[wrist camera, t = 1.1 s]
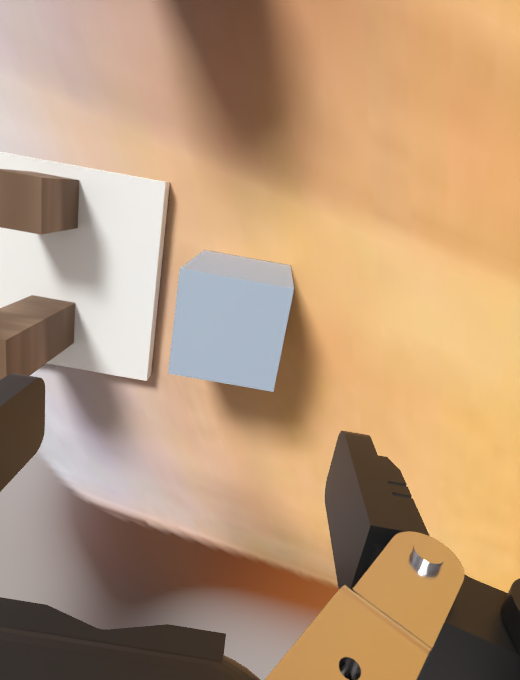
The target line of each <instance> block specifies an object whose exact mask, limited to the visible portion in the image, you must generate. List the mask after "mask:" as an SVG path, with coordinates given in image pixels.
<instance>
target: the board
mask: <svg viewBox="0 0 520 680" xmlns="http://www.w3.org/2000/svg"><path fill="white" fill-rule="evenodd" d="M0 169H9V170H21V171H32V172H38V173H43V174H49V175H54V176H60V177H65V178H71V179H76V180H79V206H78V228H76V229H70V230H65V231H59V232H53V233H48V234H42V235H40V234H35V233H29V232H24V231H18V230H12V229H7V228H1V227H0V308H2V307H5V306H7V305H9V304H12V303H14V302H17V301H19V300H22V299H24V298H26V297H29V296H31V295H34V296H40V297H46V298H51V299H57V300H63V301H68V302H74V303H75V323H74V343H73V344H72V345H70V346H69V347H68V348H66V349H65V350H64V351H62V352H61V353H60V354H58V355H57V356H55V357H54V358H53V359H51V360H50V361H49V362H47V364H52V365H58V366H64V367H70V368H75V369H81V370H87V371H92V372H98V373H104V374H110V375H115V376H121V377H127V378H133V379H138V380H144V381H147V380H148V378H149V377H150V375H151V370H152V360H153V350H154V340H155V329H156V319H157V309H158V299H159V288H160V278H161V268H162V258H163V248H164V237H165V227H166V217H167V207H168V197H169V186H170V182H165V181H159V180H154V179H148V178H143V177H137V176H132V175H126V174H121V173H115V172H110V171H104V170H99V169H93V168H88V167H82V166H77V165H71V164H66V163H60V162H54V161H49V160H43V159H38V158H32V157H27V156H21V155H16V154H10V153H5V152H0Z"/></svg>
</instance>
